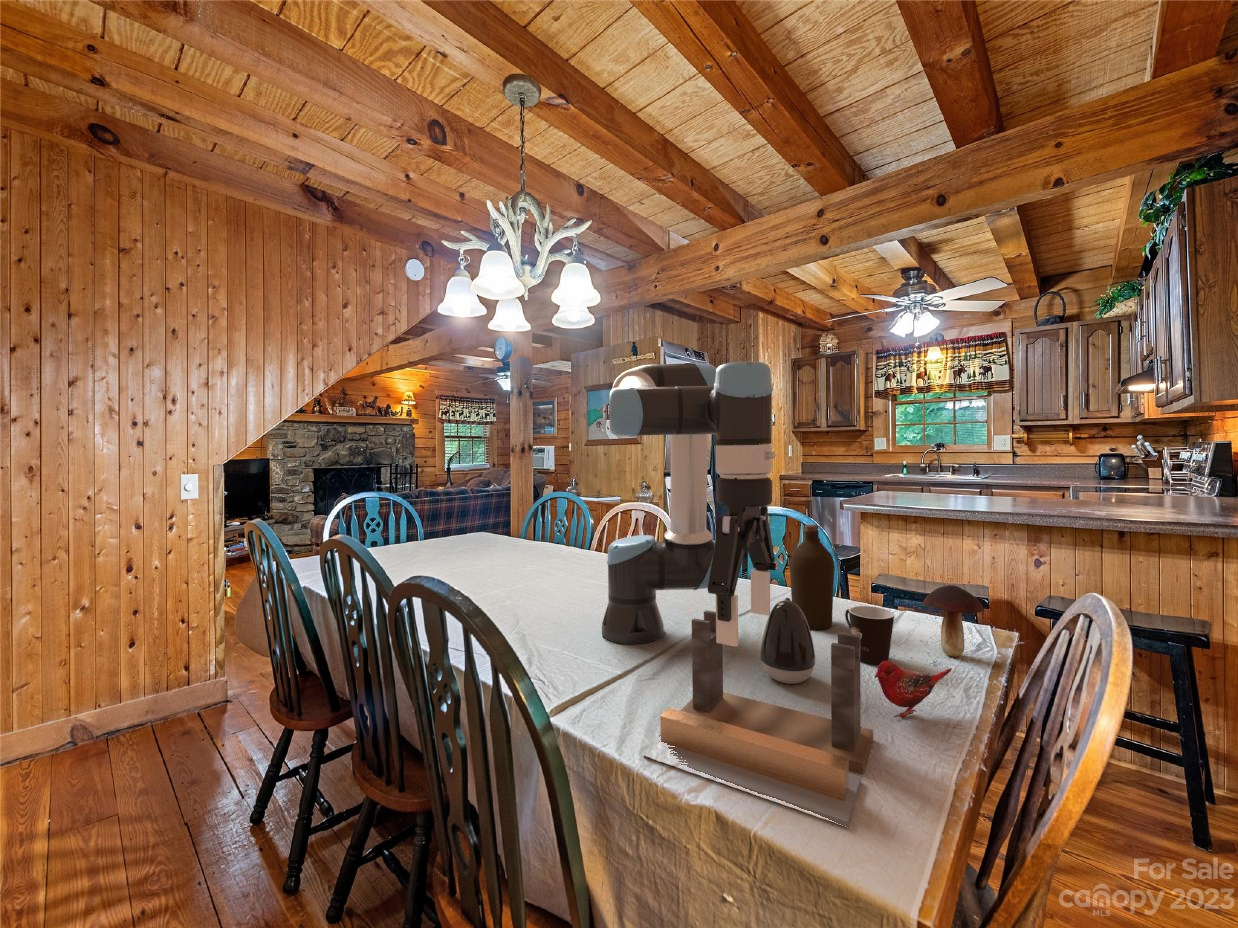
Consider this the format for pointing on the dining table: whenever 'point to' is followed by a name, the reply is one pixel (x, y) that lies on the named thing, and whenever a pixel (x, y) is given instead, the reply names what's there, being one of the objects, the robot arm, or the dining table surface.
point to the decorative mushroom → (953, 615)
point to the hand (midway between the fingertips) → (745, 627)
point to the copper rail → (758, 752)
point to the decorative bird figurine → (905, 685)
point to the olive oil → (813, 579)
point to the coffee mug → (872, 632)
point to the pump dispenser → (787, 644)
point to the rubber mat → (776, 786)
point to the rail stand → (781, 722)
